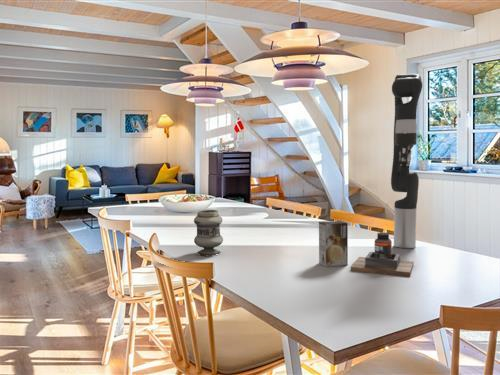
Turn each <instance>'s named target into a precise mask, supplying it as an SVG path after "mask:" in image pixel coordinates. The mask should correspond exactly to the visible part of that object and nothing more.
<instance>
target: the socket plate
mask: <svg viewBox="0 0 500 375" xmlns="http://www.w3.org/2000/svg"><path fill="white" fill-rule="evenodd" d="M413 268H414V261H410V260H401V254H400V253H392V256H391V259H381V258H375V251H369V252H368V254H367V255H366V256H365V257H363V256H359V257H358V258H357V259H356V260H355V261H354V262H353V263H352V265H351V266H350V271H351V272H360V273H361V272H362V273H369V274H370V273H371V274H379V275H389V276H400V277H411V275H412V271H413Z"/></svg>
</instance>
